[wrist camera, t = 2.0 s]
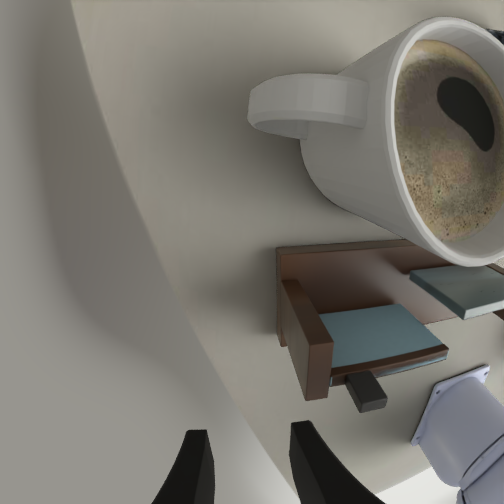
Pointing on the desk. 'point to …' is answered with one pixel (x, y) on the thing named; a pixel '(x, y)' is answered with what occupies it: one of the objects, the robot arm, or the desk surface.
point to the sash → (377, 350)
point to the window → (370, 294)
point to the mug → (406, 136)
